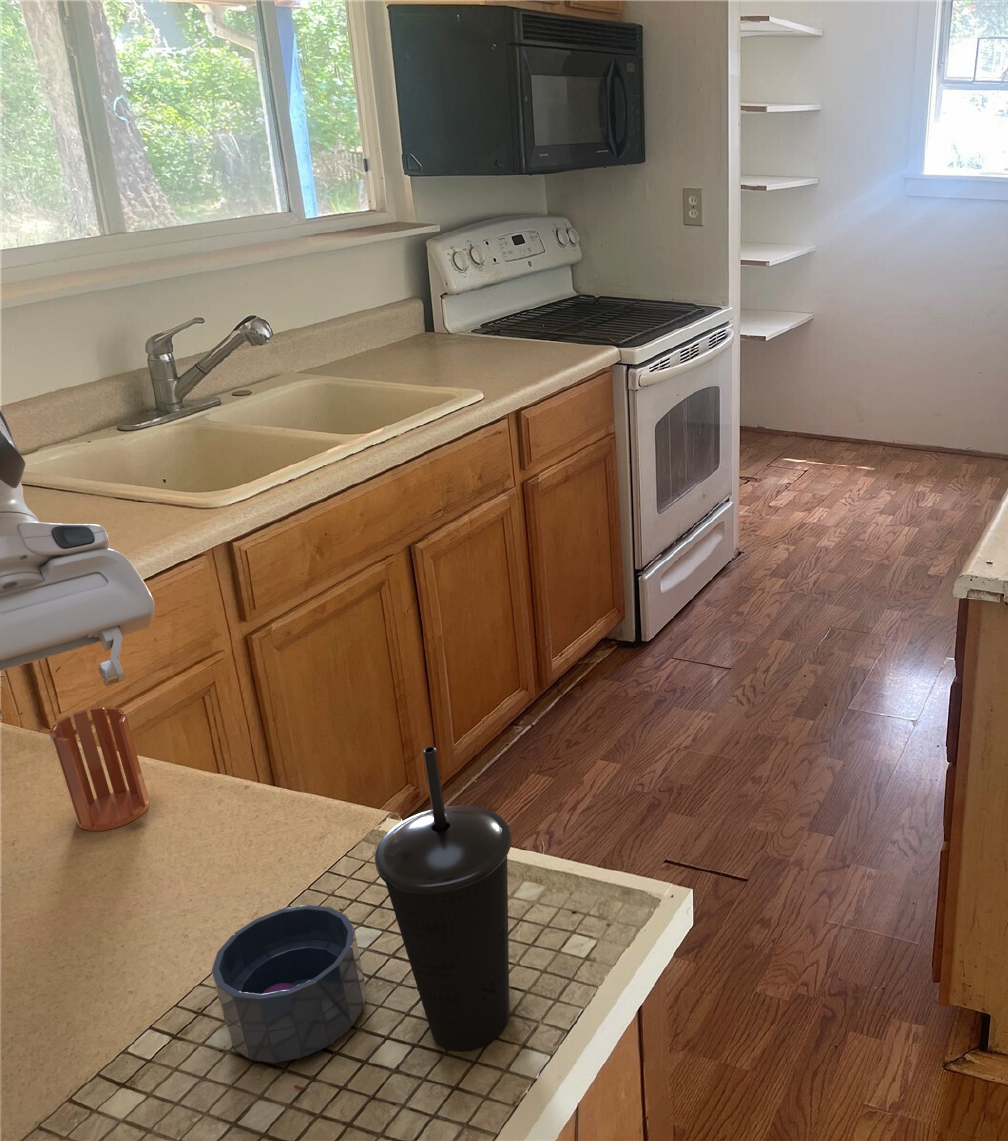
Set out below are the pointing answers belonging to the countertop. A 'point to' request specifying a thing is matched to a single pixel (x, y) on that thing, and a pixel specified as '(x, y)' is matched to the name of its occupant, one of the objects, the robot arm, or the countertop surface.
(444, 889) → the drinking cup
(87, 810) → the slatted pencil cup
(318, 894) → the countertop surface
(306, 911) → the bowl
